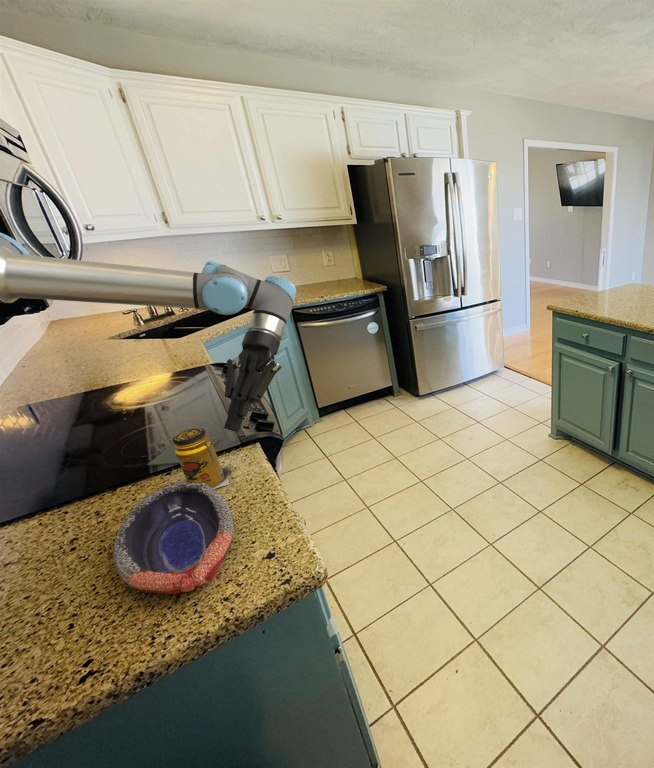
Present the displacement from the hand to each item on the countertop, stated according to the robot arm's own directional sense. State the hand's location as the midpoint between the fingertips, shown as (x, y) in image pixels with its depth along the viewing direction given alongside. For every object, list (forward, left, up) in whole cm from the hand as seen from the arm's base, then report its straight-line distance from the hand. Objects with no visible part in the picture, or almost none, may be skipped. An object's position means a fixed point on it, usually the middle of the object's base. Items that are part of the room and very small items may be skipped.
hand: (231, 429), depth 91 cm
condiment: (0, -9, -8) cm, 12 cm away
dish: (+11, -26, -8) cm, 29 cm away
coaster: (-15, 0, -7) cm, 17 cm away
